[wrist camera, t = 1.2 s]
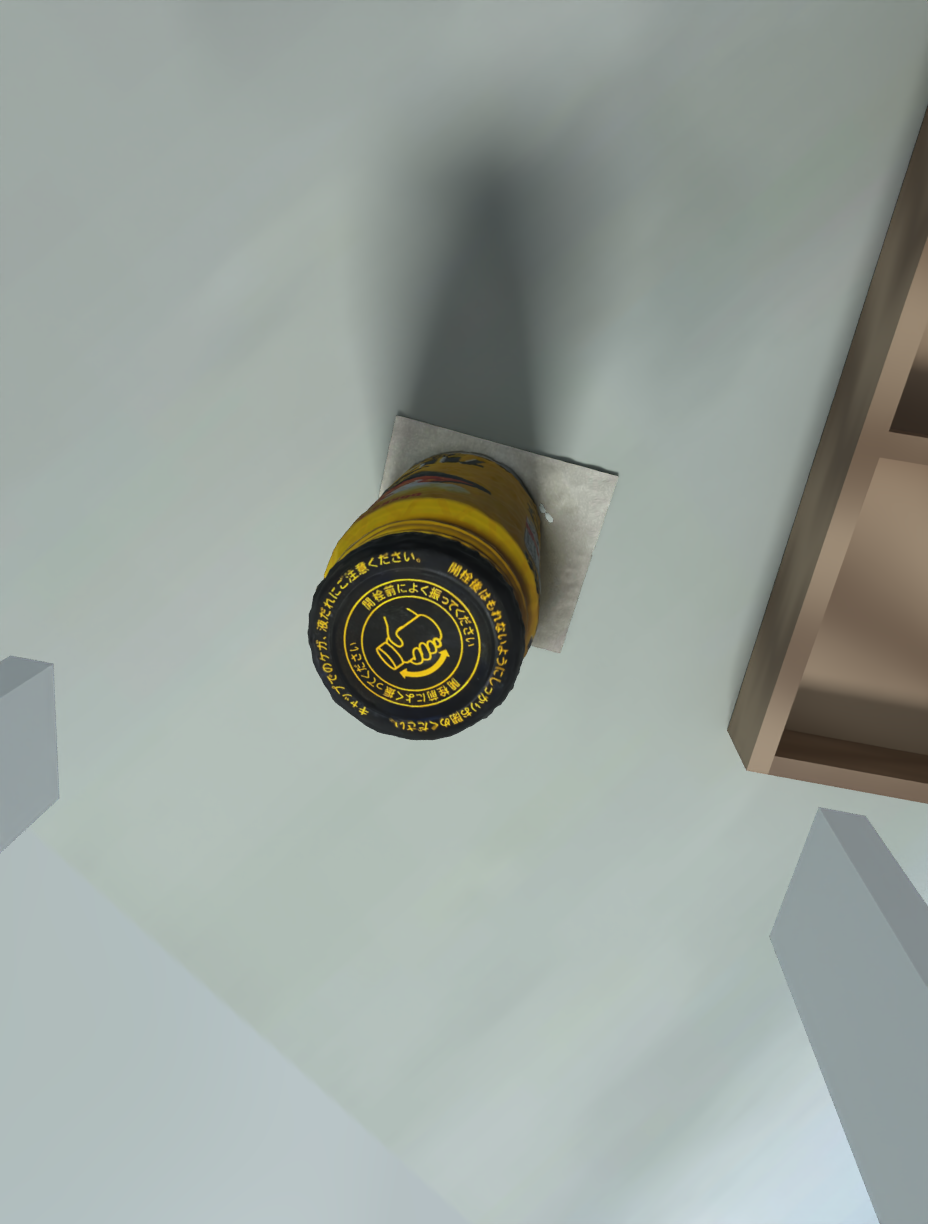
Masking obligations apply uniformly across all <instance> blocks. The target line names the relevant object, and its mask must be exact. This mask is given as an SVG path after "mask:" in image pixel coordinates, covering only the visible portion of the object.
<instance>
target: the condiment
mask: <svg viewBox="0 0 928 1224" xmlns="http://www.w3.org/2000/svg"><path fill="white" fill-rule="evenodd" d="M618 478H619V477H618V476H615V475H611V474H607V473H604V472H600V471H596V470H592V469H589V468H586V467H582V466H578V465H575V464H571V463H567V462H563V461H560V460H556V459H552V458H549V457H546V456H542V455H538V454H535V453H531V452H528V451H524V450H521V449H517V448H514V447H510V446H507V445H503V444H500V443H496V442H493V441H489V440H485V439H482V438H478V437H474V436H471V435H467V434H464V433H460V432H456V431H453V430H449V429H446V428H442V427H438V426H434V425H431V424H428V423H424V422H420V421H417V420H413V419H409V418H405V417H401V416H397V415H396V418H395V422H394V427H393V432H392V436H391V441H390V445H389V451H388V455H387V460H386V465H385V470H384V474H383V479H382V483H381V488H380V493H379V497H378V500H377V501H376V502H375V503H374V504H373V505H372V506H371V507H370V508H369V509H368V510H367V511H366V512H365V513H363V514H362V515H361V516H360V517H359V518H358V519H357V520H356V521H355V522H354V523H353V524H352V526H351V527H350V528H349V529H348V531H347V532H345V534H344V535H343V537H342V538H341V539H340V540H339V541H338V543H337V545H336V547H335V549H334V550H333V553H332V556H331V558H330V561H329V563H328V566H327V569H326V571H325V574H324V580H323V581H322V582H321V583H320V584H319V585H318V586H317V589H316V592H315V594H314V596H313V602H312V608H311V610H310V613H309V629H308V639H309V645H310V648H311V651H312V659H313V663H314V665H315V668H316V670H317V672H318V674H319V676H320V678H321V679H322V681H323V683H324V685H325V687H326V688H327V689H328V691H329V692H330V694H331V697H332V699H333V700H334V701H335V702H336V703H337V704H338V705H339V706H341V707H342V708H343V709H345V710H346V711H347V712H348V713H350V714H351V715H352V716H354V717H355V718H357V719H358V720H359V721H360V722H362V723H363V724H364V725H366V726H367V727H369V728H371V729H373V730H375V731H377V732H379V733H383V734H388V735H394V736H397V737H400V738H405V739H409V740H435V739H440V738H444V737H450V736H452V735H455V734H457V733H459V732H461V731H463V730H464V729H466V728H468V727H470V726H473V725H474V724H475V723H477V722H478V721H480V720H482V719H484V718H487V717H488V716H489V715H490V714H492V712H493V710H494V709H495V708H496V707H497V706H499V705H501V704H502V702H503V701H504V700H505V699H506V697H507V695H508V693H509V692H510V691H511V690H512V689H513V687H514V683H515V680H516V678H517V676H518V674H519V671H520V666H521V664H522V661H523V659H524V657H525V656H526V654H527V652H528V650H529V648H530V646H531V645H532V646H534V647H537V648H542V649H546V650H549V651H553V652H557V653H560V652H561V649H562V646H563V643H564V640H565V637H566V633H567V630H568V627H569V624H570V621H571V618H572V615H573V612H574V609H575V606H576V603H577V600H578V597H579V594H580V591H581V587H582V584H583V581H584V578H585V576H586V573H587V570H588V567H589V564H590V561H591V557H592V552H593V551H594V548H595V546H596V543H597V540H598V537H599V534H600V531H601V528H602V525H603V522H604V519H605V516H606V513H607V510H608V507H609V504H610V502H611V499H612V496H613V493H614V490H615V487H616V484H617V481H618ZM540 503H541V504H543V505H544V508H545V510H546V513H549V514H550V515H551V516H552V518H553V523H549V522H548V520H547V519H546V517H545V513H541V512H540V509H539V506H540Z"/></svg>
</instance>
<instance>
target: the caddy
mask: <svg viewBox="0 0 928 1224" xmlns="http://www.w3.org/2000/svg"><path fill="white" fill-rule="evenodd" d="M727 731H728V733H729V735H730V737H731V739H732V741H733V744H734V746H735V748H736V750H737V752H738V754H739V756H740V758H741V760H742V762H743V764H744V766H745V768H746V770H747V771H752V772H758V773H763V774H768V775H774V776H779V777H785V778H790V779H796V780H801V781H807V782H812V783H818V784H823V785H829V786H834V787H839V788H845V789H850V790H856V791H861V792H867V793H872V794H878V795H883V796H889V797H894V798H899V799H905V800H910V801H916V802H921V803H927V804H928V107H927V110H926V113H925V116H924V120H923V123H922V126H921V129H920V132H919V135H918V138H917V141H916V144H915V148H914V151H913V154H912V157H911V160H910V163H909V166H908V169H907V172H906V176H905V179H904V182H903V185H902V188H901V191H900V194H899V197H898V200H897V204H896V207H895V210H894V213H893V216H892V219H891V222H890V225H889V229H888V232H887V235H886V238H885V241H884V244H883V247H882V250H881V253H880V257H879V260H878V263H877V266H876V269H875V272H874V275H873V278H872V281H871V285H870V288H869V291H868V294H867V297H866V300H865V303H864V306H863V309H862V313H861V316H860V319H859V322H858V325H857V328H856V331H855V334H854V338H853V341H852V344H851V347H850V350H849V353H848V356H847V359H846V362H845V366H844V369H843V372H842V375H841V378H840V381H839V384H838V387H837V390H836V394H835V397H834V400H833V403H832V406H831V409H830V412H829V415H828V418H827V422H826V425H825V428H824V431H823V434H822V437H821V440H820V443H819V446H818V450H817V453H816V456H815V459H814V462H813V465H812V468H811V471H810V475H809V478H808V481H807V484H806V487H805V490H804V493H803V496H802V499H801V503H800V506H799V509H798V512H797V515H796V518H795V521H794V524H793V527H792V531H791V534H790V537H789V540H788V543H787V546H786V549H785V552H784V555H783V559H782V562H781V565H780V568H779V571H778V574H777V577H776V580H775V584H774V587H773V590H772V593H771V596H770V599H769V602H768V605H767V608H766V612H765V615H764V618H763V621H762V624H761V627H760V630H759V633H758V636H757V640H756V643H755V646H754V649H753V652H752V655H751V658H750V661H749V664H748V668H747V671H746V674H745V677H744V680H743V683H742V686H741V689H740V693H739V696H738V699H737V702H736V705H735V708H734V711H733V714H732V717H731V721H730V724H729V727H728V730H727Z"/></svg>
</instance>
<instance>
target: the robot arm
mask: <svg viewBox="0 0 928 1224" xmlns="http://www.w3.org/2000/svg"><path fill="white" fill-rule="evenodd" d="M58 799H59V779H58V756H57V734H56V711H55V688H54V666H53V663H47V662H42V661H37V660H31V659H26V658H21V657H15V656H9V657H8V658H6V659H4V660H2V661H1V662H0V853H1V852H2V851H3V850H4V849H5V848H6V847H7V846H9V845H10V844H11V843H12V842H13V841H14V840H15V839H16V838H17V837H18V836H19V835H20V834H21V833H22V832H24V831H25V830H26V829H27V828H28V827H29V826H30V825H31V824H32V823H33V822H34V821H35V820H36V819H37V818H39V817H40V816H41V815H42V814H43V813H44V812H45V811H46V810H47V809H48V808H49V807H50V806H51V805H52V804H54V803H55V802H56V801H57V800H58ZM769 937H770V940H771V942H772V945H773V947H774V950H775V953H776V955H777V958H778V960H779V963H780V966H781V968H782V971H783V973H784V976H785V979H786V981H787V984H788V986H789V989H790V992H791V994H792V997H793V999H794V1002H795V1005H796V1007H797V1010H798V1012H799V1015H800V1018H801V1020H802V1023H803V1025H804V1028H805V1031H806V1033H807V1036H808V1038H809V1041H810V1044H811V1046H812V1049H813V1051H814V1054H815V1057H816V1059H817V1062H818V1064H819V1067H820V1070H821V1072H822V1075H823V1077H824V1080H825V1083H826V1085H827V1088H828V1090H829V1093H830V1096H831V1098H832V1101H833V1103H834V1106H835V1109H836V1111H837V1114H838V1116H839V1119H840V1122H841V1124H842V1127H843V1129H844V1132H845V1135H846V1137H847V1140H848V1142H849V1145H850V1148H851V1150H852V1153H853V1155H854V1158H855V1161H856V1163H857V1166H858V1168H859V1171H860V1174H861V1176H862V1179H863V1181H864V1184H865V1187H866V1189H867V1192H868V1194H869V1197H870V1200H871V1202H872V1205H873V1207H874V1210H875V1213H876V1215H877V1218H878V1220H879V1223H880V1224H928V906H927V904H926V903H925V902H924V900H923V899H922V897H921V896H920V894H919V893H918V891H917V890H916V888H915V887H914V886H913V884H912V883H911V881H910V880H909V878H908V877H907V875H906V874H905V872H904V871H903V870H902V868H901V867H900V865H899V864H898V862H897V861H896V859H895V858H894V857H893V855H892V854H891V852H890V851H889V849H888V848H887V846H886V845H885V843H884V842H883V841H882V839H881V838H880V836H879V835H878V833H877V832H876V830H875V829H874V827H873V826H872V825H871V823H870V822H869V820H868V819H867V817H866V816H863V815H858V814H853V813H847V812H842V811H837V810H831V809H826V808H821V807H819V808H818V811H817V813H816V816H815V818H814V821H813V824H812V826H811V829H810V832H809V834H808V837H807V839H806V842H805V845H804V847H803V850H802V853H801V855H800V858H799V860H798V863H797V866H796V868H795V871H794V873H793V876H792V879H791V881H790V884H789V887H788V889H787V892H786V894H785V897H784V900H783V902H782V905H781V908H780V910H779V913H778V915H777V918H776V921H775V923H774V926H773V928H772V931H771V934H770V936H769Z"/></svg>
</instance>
